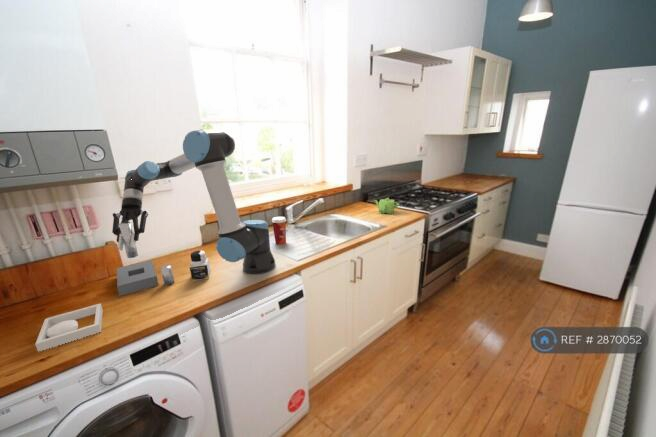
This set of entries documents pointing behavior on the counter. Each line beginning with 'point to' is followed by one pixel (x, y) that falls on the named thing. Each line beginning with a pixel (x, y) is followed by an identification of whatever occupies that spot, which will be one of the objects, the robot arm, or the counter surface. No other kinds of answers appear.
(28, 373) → the counter surface
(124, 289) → the bored block
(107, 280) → the counter surface
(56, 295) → the counter surface
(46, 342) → the grey rectangular frame
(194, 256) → the medicine bottle
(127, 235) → the tall steel pin
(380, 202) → the kettle
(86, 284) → the counter surface
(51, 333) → the white rounded block
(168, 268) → the silver upright block
